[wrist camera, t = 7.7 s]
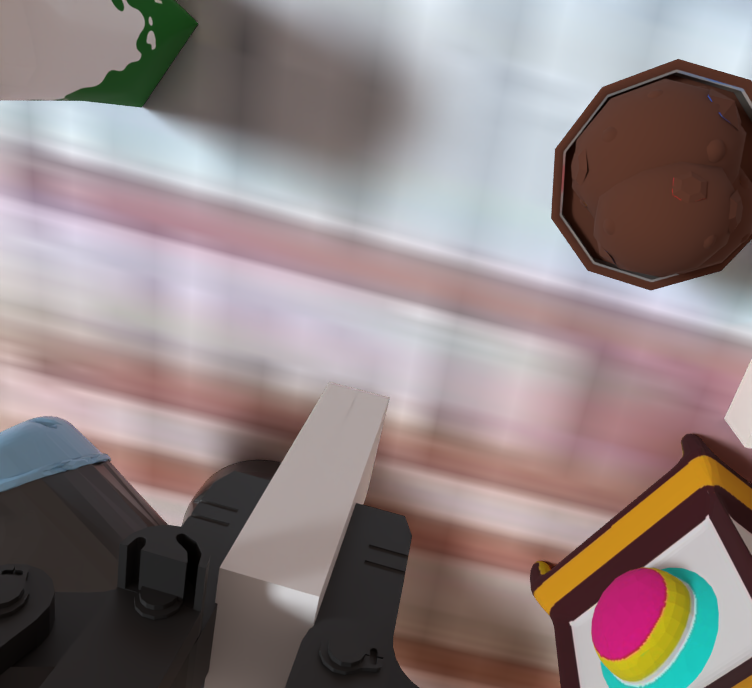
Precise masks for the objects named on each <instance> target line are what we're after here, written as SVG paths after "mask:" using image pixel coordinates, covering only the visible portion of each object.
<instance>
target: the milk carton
mask: <svg viewBox="0 0 752 688" xmlns="http://www.w3.org/2000/svg"><path fill="white" fill-rule="evenodd" d="M197 25H198V23H197V22H196V21H195V20H194V19H193V18H192V17H191V16H190V15H189V14H188V13H187V12H186V11H185V10H184V9H183V8H182V7H181V6H180V5H179V4H178V3H177V2H176V1H175V0H0V101H1V100H51V101H89V102H98V103H107V104H116V105H125V106H134V107H142V106H143V105H144V103H145V102H146V100H147V99H148V98H149V96H150V95H151V93H152V92H153V90H154V89H155V87H156V86H157V84H158V83H159V81H160V80H161V78H162V77H163V75H164V74H165V72H166V71H167V69H168V68H169V66H170V65H171V64H172V62H173V61H174V59H175V58H176V56H177V55H178V53H179V52H180V50H181V49H182V47H183V46H184V44H185V43H186V41H187V40H188V38H189V37H190V35H191V34H192V32H193V31H194V30H195V28H196V27H197Z"/></svg>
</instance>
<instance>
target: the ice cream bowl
mask: <svg viewBox="0 0 752 688" xmlns="http://www.w3.org/2000/svg"><path fill="white" fill-rule="evenodd" d="M551 219H552V220H553V221H554V223H555V224H556V226H557V227H558V229H559V230H560V232H561V233H562V234H563V236H564V237H565V239H566V240H567V242H568V243H569V244H570V246H571V247H572V249H573V250H574V252H575V253H576V255H577V256H578V257H579V259H580V260H581V262H582V263H583V265H584V266H585V267H586V269H587V270H588V271H591V272H594V273H597V274H600V275H603V276H607V277H610V278H613V279H616V280H619V281H623V282H626V283H629V284H632V285H635V286H638V287H642V288H645V289H648V290H654V289H658V288H661V287H665V286H668V285H672V284H676V283H679V282H683V281H686V280H690V279H694V278H697V277H701V276H704V275H708V274H712V273H715V272H719V271H721V270H722V269H723V268H724V267H725V266H726V265H727V264H728V263H729V262H730V261H731V260H732V259H733V258H734V257H735V256H736V255H737V254H738V253H739V252H740V251H741V250H742V249H743V248H744V247H745V246H746V245H747V243H748V242H749V241H750V240H751V239H752V81H751V80H748V79H745V78H742V77H738V76H735V75H731V74H728V73H724V72H721V71H717V70H714V69H711V68H707V67H704V66H700V65H697V64H693V63H690V62H686V61H683V60H680V59H677V60H674V61H671V62H669V63H666V64H663V65H661V66H658V67H655V68H653V69H650V70H647V71H644V72H642V73H639V74H636V75H634V76H631V77H628V78H626V79H623V80H620V81H618V82H615V83H612V84H610V85H607V86H604V87H602V88H601V89H600V91H599V92H598V93H597V95H596V96H595V97H594V99H593V100H592V101H591V103H590V104H589V105H588V107H587V108H586V109H585V111H584V112H583V113H582V114H581V116H580V117H579V118H578V120H577V121H576V122H575V124H574V125H573V126H572V128H571V129H570V130H569V132H568V133H567V134H566V136H565V137H564V138H563V139H562V141H561V142H560V143H559V145H558V146H557V147H556V149H555V161H554V178H553V196H552V213H551Z"/></svg>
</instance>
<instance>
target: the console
mask: <svg viewBox="0 0 752 688" xmlns="http://www.w3.org/2000/svg"><path fill="white" fill-rule="evenodd" d="M724 419H725V420H726V422H727V423H728V425H729V426H730V427H731V429H732V430H733V432H734V433H735V434H736V436H737V437H738V438H739V440H740V441H741V443H742V444H743V445H744V447H747V448H751V449H752V359H751V361H750V364H749V366H748V368H747V370H746V372H745V374H744V377H743V379H742V381H741V383H740V385H739V388H738V390H737V392H736V394H735V396H734V398H733V401H732V403H731V405H730V407H729V409H728V411H727V414H726V416H725V418H724Z"/></svg>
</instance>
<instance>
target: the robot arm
mask: <svg viewBox="0 0 752 688" xmlns="http://www.w3.org/2000/svg"><path fill="white" fill-rule="evenodd" d="M389 398H390V397H386V396H382V395H378V394H374V393H370V392H366V391H363V390H359V389H355V388H351V387H347V386H343V385H340V384H336V383H332V382H329V383H328V385H327V387H326V388H325V390H324V392H323V393H322V395H321V397H320V398H319V400H318V402H317V403H316V405H315V407H314V409H313V410H312V412H311V414H310V415H309V417H308V419H307V420H306V422H305V424H304V426H303V427H302V429H301V431H300V432H299V434H298V436H297V437H296V439H295V441H294V442H293V444H292V446H291V448H290V449H289V451H288V453H287V454H286V456H285V458H284V459H283V461H282V463H279V462H273V461H265V460H253V461H244V462H239V463H236V464H232V465H230V466H227V467H225V468H223V469H221V470H219V471H218V472H216V473H215V474H214V475H212V476H211V477H210V478H209V479H208V480H207V481H206V482H205V483H204V485H203V486H202V487H201V488H200V490H199V491H198V492H197V494H196V495H195V496H194V498H193V499H192V501H191V502H190V504H189V506H188V508H187V511H186V513H185V516H184V519H183V523H182V526H181V527H179V526H172V525H168V524H167V523H166V522H165V521H164V520H163V519H162V518H161V517H160V516H159V515H158V514H157V512H156V511H155V510H154V509H153V508H152V507H151V506H150V505H149V504H148V503H147V502H146V501H145V499H144V498H143V497H142V496H141V495H140V494H139V493H138V492H137V491H136V490H135V489H134V488H133V487H132V485H131V484H130V483H129V482H128V481H127V480H126V479H125V478H124V477H123V476H122V475H121V474H120V473H119V471H118V470H117V469H116V468H115V467H114V466H113V465H112V464H111V462H110V461H111V458H110V457H109V456H108V455H107V454H103V453H101V452H100V451H99V450H98V449H97V448H96V447H95V446H94V445H93V444H92V443H91V442H90V441H89V440H87V439H86V438H85V437H84V436H83V435H82V434H81V433H80V432H79V431H78V430H77V429H76V428H75V427H74V426H73V425H72V424H71V423H69V422H68V421H66V420H64V419H61V418H58V417H52V416H44V417H37V418H33V419H30V420H27V421H25V422H22V423H20V424H17V425H15V426H13V427H11V428H9V429H7V430H4V431H2V432H0V688H419V687H418V686H417V685H415V684H414V683H413V682H412V681H411V680H410V679H409V678H408V677H407V676H406V675H405V673H404V672H403V671H402V669H401V668H400V666H399V664H398V662H397V660H396V657H395V653H394V649H393V635H394V629H395V624H396V619H397V613H398V608H399V603H400V597H401V592H402V587H403V581H404V575H405V571H406V565H407V560H408V555H409V549H410V544H411V539H412V535H411V532H410V529H409V526H408V524H407V521H406V518H405V516H402V515H398V514H395V513H391V512H388V511H384V510H380V509H377V508H373V507H369V506H366V505H363V504H364V501H365V498H366V495H367V492H368V488H369V484H370V480H371V475H372V471H373V467H374V462H375V458H376V454H377V450H378V445H379V441H380V437H381V432H382V428H383V424H384V420H385V415H386V411H387V407H388V402H389Z"/></svg>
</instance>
